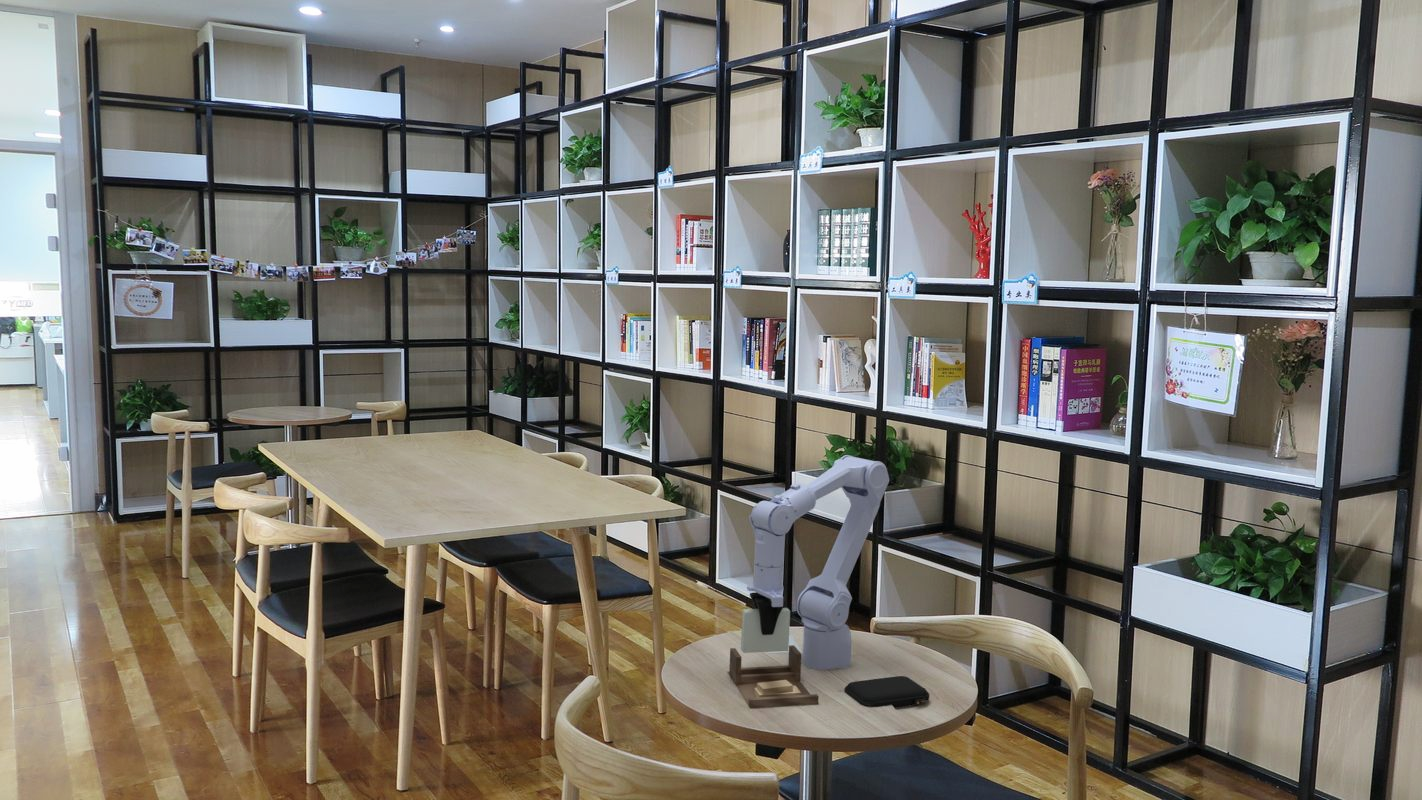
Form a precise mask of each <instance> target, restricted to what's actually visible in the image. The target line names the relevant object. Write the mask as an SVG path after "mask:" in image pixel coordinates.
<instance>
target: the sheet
mask: <svg viewBox="0 0 1422 800" xmlns="http://www.w3.org/2000/svg"><path fill="white" fill-rule="evenodd" d="M741 615H742V620H741V640H740V650H741V652H742V653H744V654H745V653H746V654H747V653H767V652H778V651H788V647H789V633H790V628H791V627H790V622H791V610H790V609H789V608H788V607H783V609H782V610H781V612H780V614H779V617H778V619H777V623H776V626H775V630H774V633H773V635H763V634H762V632H761V624H760V615H759V610H758V609H755V608H751V609H750V608H747V609H745V608H744V609H742V614H741Z"/></svg>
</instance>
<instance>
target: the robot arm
mask: <svg viewBox="0 0 1422 800" xmlns="http://www.w3.org/2000/svg"><path fill="white" fill-rule="evenodd" d="M889 482H890V477H889V473H888V469H887V467H886V464H884V463H883V462H882V461H880V460H879V461H878V460H871V459H865V458H860V457H857V456H853V455H850V454H847V455H845V454H844V455H843V456H841V457H840V458H839V459H836V460H834V462H833V465H832V467H830V468H829V469H828V470H826V471H825V472H823V473H821V475H819V476H817V478H815V479H813V480H811V481H810V482H809V483H808V484H807V485H806V484H804V483H795V482H794V483H792V484H791V485H790V488H789V489H787V490H785V491H784V492H782V493H781V494H776V495H775V496H773V498H772V499H771V500H770V501H769V500H762V501H759V502H758V503H757V504H756V505H754V506H753V508H752V510H751V515H749V516H748V517H749V523H750V526H751V527H752V530H753V538H754V553H753V554H754V555H753V556H754V557H753V560H754V561H753V576H752V584H747V586H746V589H747V591H748V592H750V593H749V597H750V599H751V601H752V604H753V607H754V608H753V609H758V610H759V615H760V624H761V632H762V634H763V635H773V633H774V630H775V626H776V623H777V619H778V617H779V614H780V612H781V610H782V609H783V608H785V606H786V601H785V600H784V596H783V595H784V587H785V586H784V585H783V583H784V566H785V565H784V563H785V562H784V561H785V542H786V534H788V533H789V531H790V529H791V528H792V526H793V524H794V523H795V522H796V521H797V520H798V519H799V518H801V517H802V516H804V515H806V514H808V513H809V512H810V511H812V510H814V508H815V507H816V503H817V501H818V500H820V499H821V498H824V497H825V496H827V495H829V494H831V493H833V492H835V491H836V490H838V489H840V488H841V489H842V491H843V492H844V495H845V496H846V498H847V499H848V500H849V503H850V507H849V510H848V512H847V515H846V517H845V519H844V522H843V523H842V526H841V528H840V531H839V533H838V535H837V537H836V539H835V542H834V544H833V546H832V549H831V552H830V553H829V555H828V559H827V561H826V563H825V564H824V567H823V570H822V572H821V574H820V575H818V576H815V577H813V578H811V579H809V581H808V583H807V584H806V587H805V588H804V589H803V590H802V591H801V593H799V595H798V598H797V601H796V606H795V607H796V611H797V614H798V615H799V616H800V618H801V623H802V624H803V635H802V636H803V639H802V651H803V652H802V656H801V664H802V665H803V666H805V667H807V668H809V669H812V670H818V671H819V670H820V671H825V670H826V671H827V670H833V669H844V668H851V664H852V663H851V660H852V641H853V640H852V632H851V629H850V627H849V626H848V625H847V624H846V622H847V620H848V618H849V614H850V605H851V603H852V600H853V597H852V595H851V592H850V591H849V589H848V587H847V584H848V581H849V579H850V577H851V574H853V573H852V572H853V570H854V568H855V565H856V563H857V560H858V558H859V556H860V554H861V551H862V549H863V547H864V544H865V542H866V539H867V537H868V535H869V532H870V531H871V527H872V526H873V523H874V522H875V518H876V517H877V514H878V511H879V509H880V506H881V501H882V499H883V497H884V495H885V492H886V490H887V487H888V485H889Z"/></svg>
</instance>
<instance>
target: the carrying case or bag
mask: <svg viewBox="0 0 1422 800" xmlns="http://www.w3.org/2000/svg"><path fill="white" fill-rule="evenodd" d="M843 689H844V693H845V694H846V695H847V696H849V697H850V698H852V699H853V700H854V701H855V702H856V703H858V704H859V705H861V706H864V707H867V708H879V707H887V706H892V707H893V708H894V709H895V708H896V707H897V708H903V706H904V707H908V706H909V705H911V706H919V705H923V704H925V703H927V701H929V700H930V693H929V692H928V691H927V689H926V687H925V688H924V687H923V686H922V685H920V684H919V683H917V682H916V681H914V680H913V679H911V678H910V677H908V676H906V675H899V676H897V675H896V676H889V677H880V678H871V679H866V680H856V681H851V682H849V683H848V684H847V685H846V686H845V687H844V688H843ZM922 703H923V704H922ZM909 707H910V706H909Z"/></svg>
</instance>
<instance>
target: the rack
mask: <svg viewBox="0 0 1422 800" xmlns="http://www.w3.org/2000/svg"><path fill="white" fill-rule="evenodd" d="M729 649H730V651H729V671H726V672H727V675H728V676H729V678H730V679H731V681H732V682H733V685H734V686H735V687H736V689H737V690H738V692H739V693H740V695H741V696H742V698H743V699H744V701H745V703H746V704H747V706H748V707H749V709H760V708H762V709H763V708H778V707H797V706H811V705H812V706H814V705H819V697H820V696H819V695H818V694H817V693H815V694H814V693H810V692H809V691H808V689H807V688H806V686H805V685H804V684H803V683H802V682H801V675H802V674H801V673H802V656H803V653H802V652H799V651H798V649H797V648H796V647H795V646H794V645H790V646H789V653H788V662H787V663H788V665H773V666H771V665H768V666H752V667H751V666H750V667H749V666H747V667H742V656H741V654H740V653H739V651H738V650H737V648H735V647H730V648H729ZM779 680H787V681H788V682H789V683H791V684H792V685H793V686H796V687H797V688H798V689H799V691H800V692H801V695H792V696H775V697H758V698H757V697H756V696H755V694H754V693H755V688H757V683H762V682H770V681H779Z"/></svg>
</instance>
